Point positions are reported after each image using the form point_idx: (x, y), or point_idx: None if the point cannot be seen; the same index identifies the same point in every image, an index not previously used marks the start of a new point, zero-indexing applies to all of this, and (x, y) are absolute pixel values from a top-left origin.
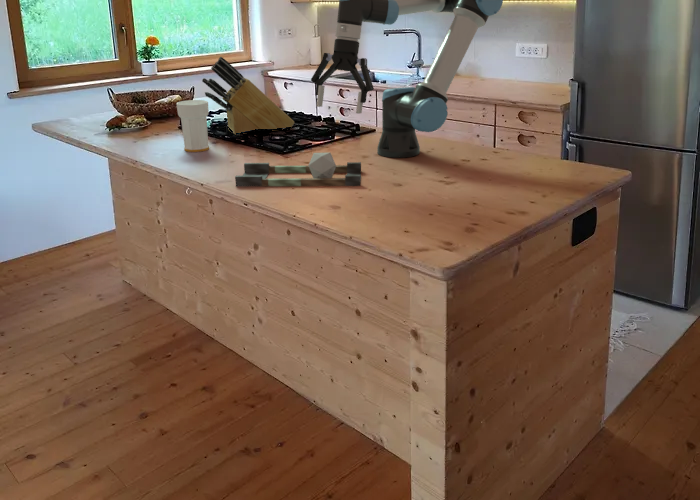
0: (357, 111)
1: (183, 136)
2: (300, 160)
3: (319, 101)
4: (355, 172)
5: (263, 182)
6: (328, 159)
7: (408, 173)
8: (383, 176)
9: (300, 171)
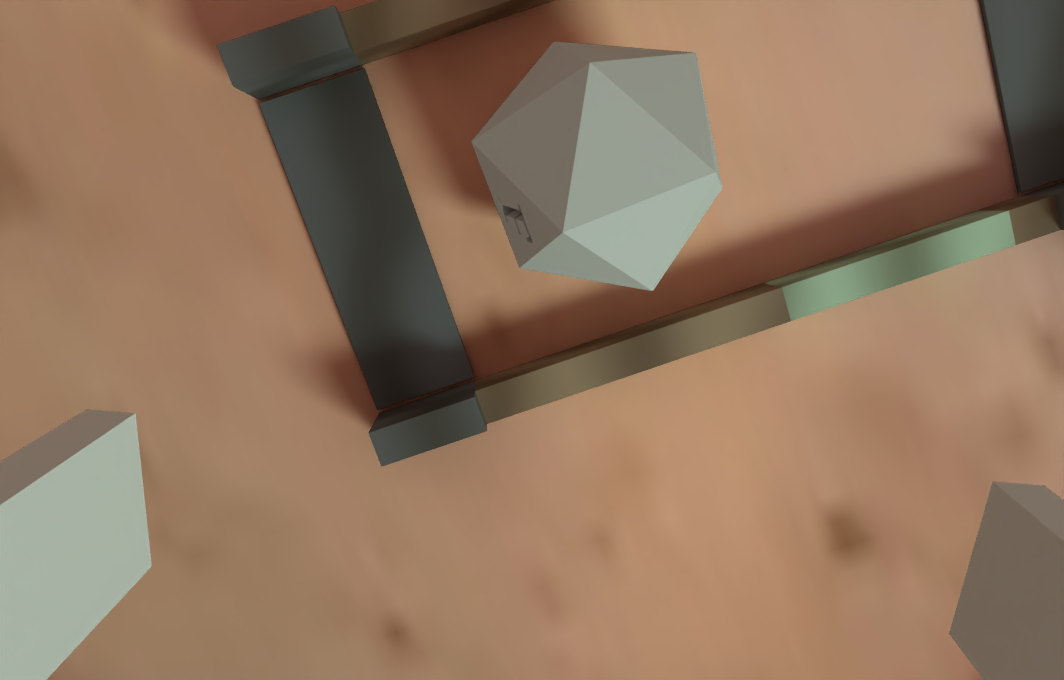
0: (81, 426)
1: None
2: (915, 583)
3: (1061, 560)
4: (412, 386)
5: None
6: (533, 113)
7: None
8: (182, 363)
9: (804, 272)
